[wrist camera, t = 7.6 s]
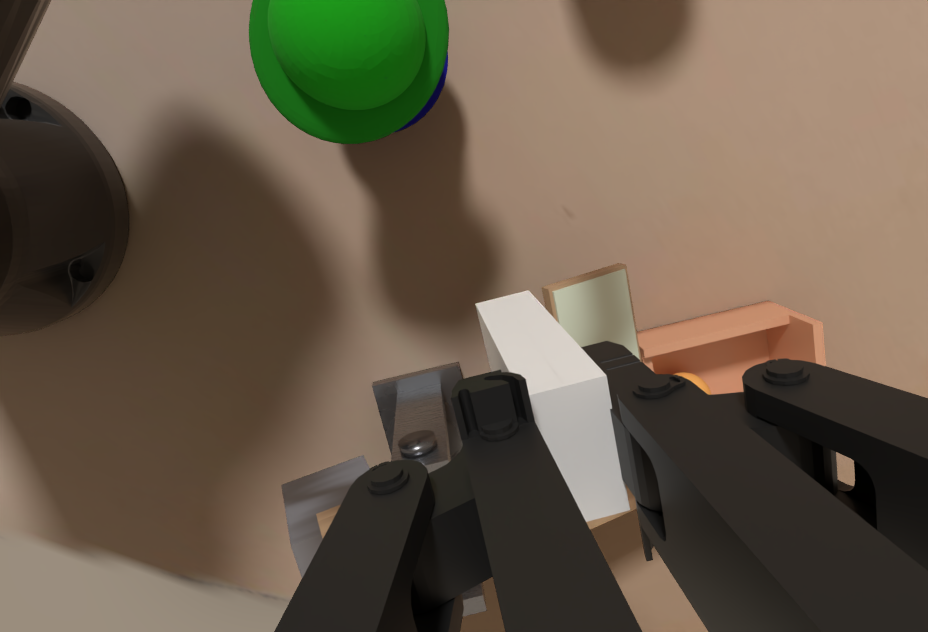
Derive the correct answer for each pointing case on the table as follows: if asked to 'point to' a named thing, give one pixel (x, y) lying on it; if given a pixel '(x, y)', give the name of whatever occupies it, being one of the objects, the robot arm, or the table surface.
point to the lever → (580, 314)
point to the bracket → (425, 429)
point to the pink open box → (732, 344)
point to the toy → (350, 63)
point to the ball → (696, 381)
